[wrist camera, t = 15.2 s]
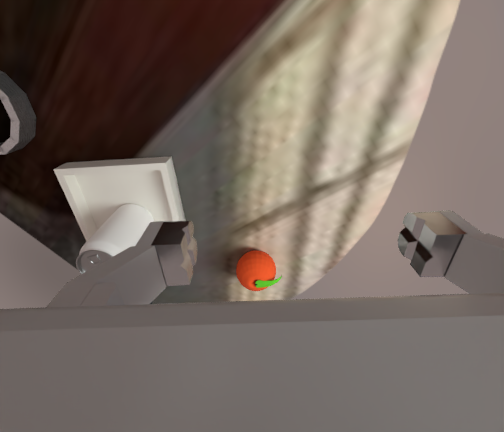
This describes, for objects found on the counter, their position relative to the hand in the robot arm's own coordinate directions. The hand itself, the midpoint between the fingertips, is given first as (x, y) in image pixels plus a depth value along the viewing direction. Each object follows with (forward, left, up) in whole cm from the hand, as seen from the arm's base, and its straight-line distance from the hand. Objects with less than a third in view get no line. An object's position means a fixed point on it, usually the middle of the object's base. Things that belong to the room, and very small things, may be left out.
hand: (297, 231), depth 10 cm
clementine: (+25, -2, -30) cm, 39 cm away
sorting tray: (+13, -22, -30) cm, 39 cm away
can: (+15, -22, -29) cm, 39 cm away
